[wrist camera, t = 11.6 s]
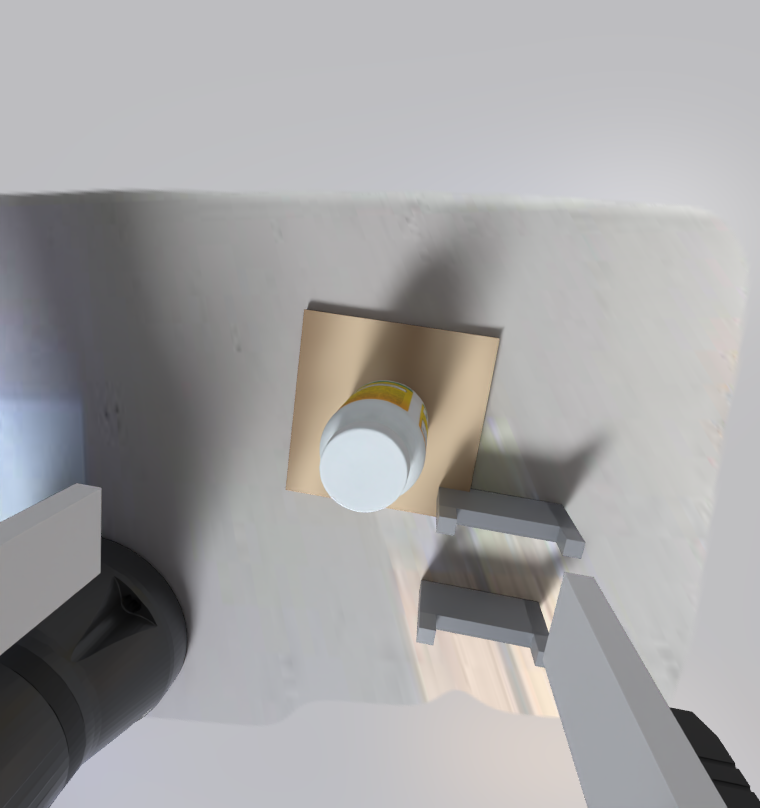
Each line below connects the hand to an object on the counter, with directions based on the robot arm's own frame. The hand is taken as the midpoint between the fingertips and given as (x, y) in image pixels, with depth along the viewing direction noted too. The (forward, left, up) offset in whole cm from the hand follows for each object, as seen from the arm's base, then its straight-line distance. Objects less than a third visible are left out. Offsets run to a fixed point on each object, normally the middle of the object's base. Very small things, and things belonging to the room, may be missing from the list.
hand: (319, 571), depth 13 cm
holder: (+8, -8, -18) cm, 22 cm away
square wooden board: (0, 0, -18) cm, 18 cm away
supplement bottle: (0, 0, -18) cm, 18 cm away
